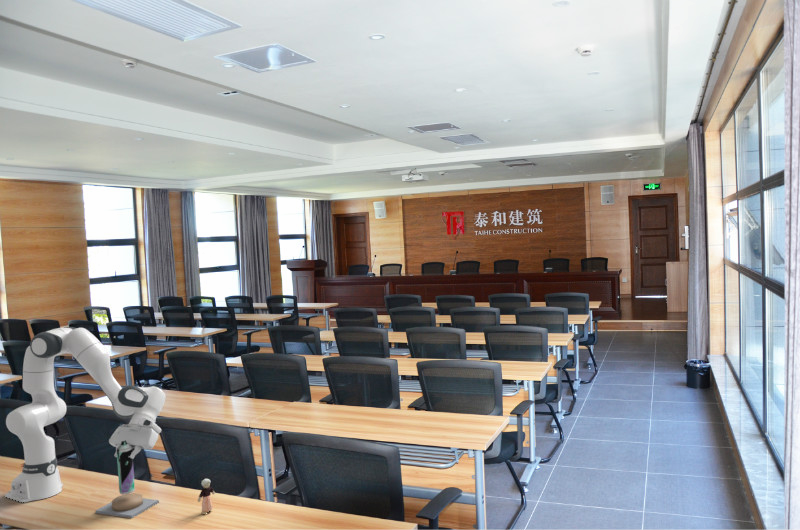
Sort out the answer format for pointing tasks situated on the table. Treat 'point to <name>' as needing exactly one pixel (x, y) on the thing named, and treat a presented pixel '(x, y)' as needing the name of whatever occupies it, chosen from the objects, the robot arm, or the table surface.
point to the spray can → (125, 468)
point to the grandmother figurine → (206, 496)
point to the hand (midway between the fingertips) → (123, 457)
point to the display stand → (127, 505)
